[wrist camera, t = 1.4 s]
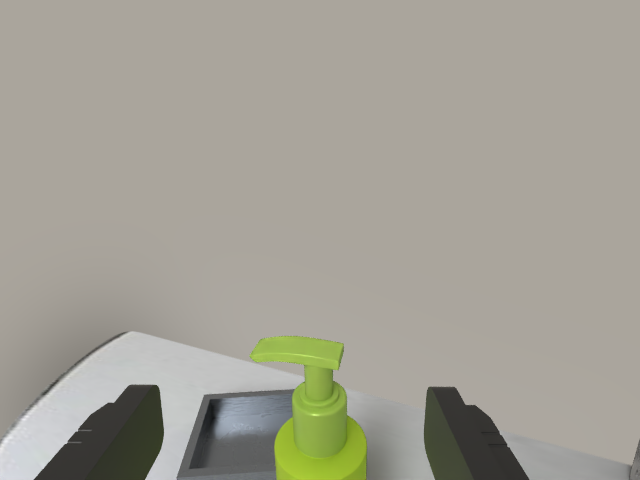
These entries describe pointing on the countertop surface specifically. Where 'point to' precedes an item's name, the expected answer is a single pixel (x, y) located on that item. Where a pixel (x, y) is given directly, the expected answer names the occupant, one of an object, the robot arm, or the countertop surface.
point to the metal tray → (236, 436)
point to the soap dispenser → (315, 414)
